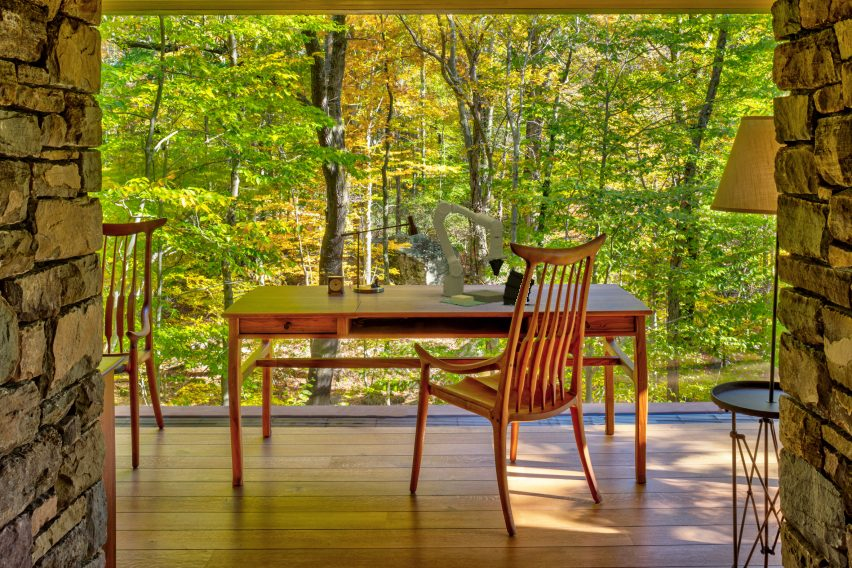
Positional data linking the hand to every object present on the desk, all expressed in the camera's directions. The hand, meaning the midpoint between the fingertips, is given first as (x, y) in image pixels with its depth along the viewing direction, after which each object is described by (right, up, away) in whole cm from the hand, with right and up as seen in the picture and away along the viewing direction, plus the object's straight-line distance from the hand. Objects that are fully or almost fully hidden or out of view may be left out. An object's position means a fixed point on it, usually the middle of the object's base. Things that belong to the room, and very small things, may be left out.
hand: (496, 275), depth 362 cm
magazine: (+8, -13, -23) cm, 28 cm away
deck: (-5, -11, -10) cm, 15 cm away
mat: (-16, -12, -18) cm, 27 cm away
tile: (-16, -10, -19) cm, 27 cm away
